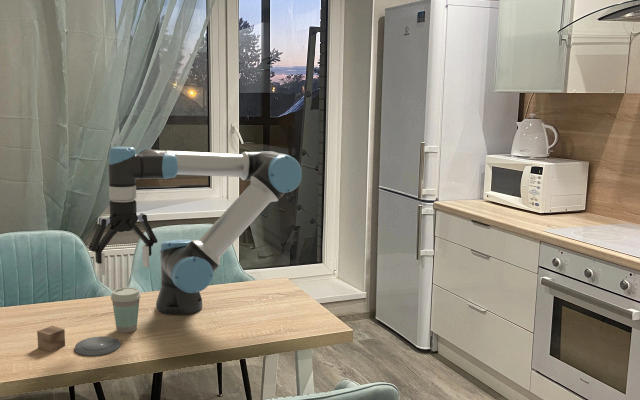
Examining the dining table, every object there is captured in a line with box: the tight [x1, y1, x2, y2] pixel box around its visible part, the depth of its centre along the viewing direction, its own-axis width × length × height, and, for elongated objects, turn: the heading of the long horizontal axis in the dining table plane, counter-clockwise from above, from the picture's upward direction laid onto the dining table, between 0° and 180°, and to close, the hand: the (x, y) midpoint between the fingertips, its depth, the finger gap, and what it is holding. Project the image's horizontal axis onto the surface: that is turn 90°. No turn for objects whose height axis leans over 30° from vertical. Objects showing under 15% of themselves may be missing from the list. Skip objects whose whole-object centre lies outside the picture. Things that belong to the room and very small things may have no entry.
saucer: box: [74, 335, 121, 357], centre depth 178 cm, size 12×12×1 cm
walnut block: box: [36, 325, 66, 353], centre depth 177 cm, size 5×5×5 cm
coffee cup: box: [110, 287, 142, 334], centre depth 191 cm, size 9×8×12 cm
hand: (124, 270), depth 189 cm, fingers open, 13 cm apart
